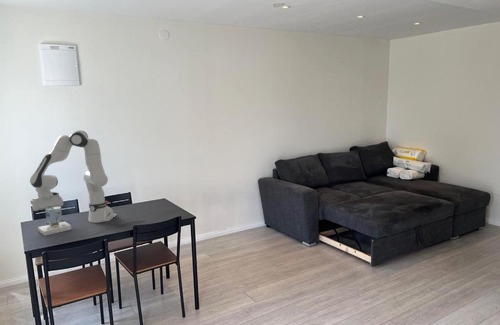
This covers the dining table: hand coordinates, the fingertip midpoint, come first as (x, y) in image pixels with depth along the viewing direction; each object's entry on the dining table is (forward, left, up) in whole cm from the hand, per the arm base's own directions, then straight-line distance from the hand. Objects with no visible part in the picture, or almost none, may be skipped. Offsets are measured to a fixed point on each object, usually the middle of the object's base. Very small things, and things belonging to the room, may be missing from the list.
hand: (50, 212), depth 264 cm
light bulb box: (-13, -10, -12) cm, 20 cm away
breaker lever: (+3, +5, -8) cm, 10 cm away
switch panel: (+3, +6, -12) cm, 14 cm away
